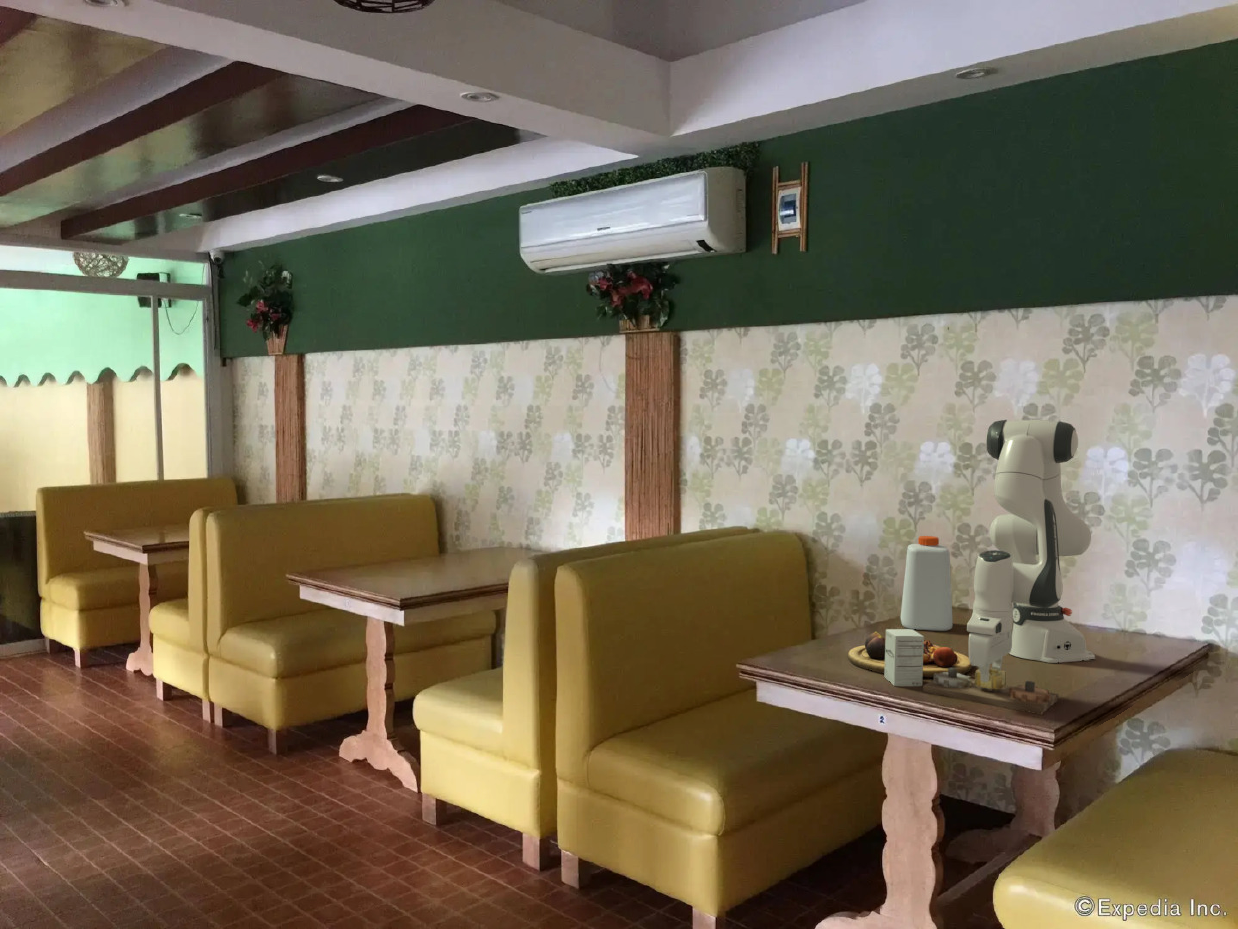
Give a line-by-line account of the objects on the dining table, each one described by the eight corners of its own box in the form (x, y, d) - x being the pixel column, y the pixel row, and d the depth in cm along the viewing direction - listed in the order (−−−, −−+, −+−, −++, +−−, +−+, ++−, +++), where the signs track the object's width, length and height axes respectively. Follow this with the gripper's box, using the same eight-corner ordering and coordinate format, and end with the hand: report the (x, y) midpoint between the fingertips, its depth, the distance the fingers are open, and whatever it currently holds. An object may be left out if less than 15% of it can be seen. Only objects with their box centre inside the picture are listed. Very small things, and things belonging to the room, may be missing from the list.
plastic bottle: (948, 622, 316) (951, 535, 315) (953, 632, 302) (956, 541, 300) (899, 619, 320) (902, 533, 318) (902, 629, 305) (904, 539, 303)
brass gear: (981, 680, 239) (982, 667, 239) (1007, 684, 235) (1007, 671, 235) (973, 685, 234) (973, 672, 234) (998, 690, 231) (999, 676, 230)
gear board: (944, 679, 249) (944, 660, 248) (1058, 700, 232) (1059, 679, 232) (923, 691, 238) (923, 671, 237) (1040, 714, 221) (1041, 692, 221)
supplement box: (883, 678, 249) (884, 628, 249) (912, 678, 250) (913, 628, 249) (893, 686, 242) (895, 635, 241) (923, 686, 242) (924, 635, 242)
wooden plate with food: (997, 677, 253) (998, 645, 253) (883, 682, 246) (884, 649, 246) (931, 649, 284) (932, 621, 284) (828, 653, 277) (828, 623, 277)
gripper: (993, 611, 244) (991, 667, 245) (964, 625, 228) (962, 684, 229) (1019, 615, 240) (1017, 671, 241) (992, 629, 224) (990, 689, 225)
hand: (990, 678), depth 235 cm, fingers closed on brass gear, 6 cm apart
